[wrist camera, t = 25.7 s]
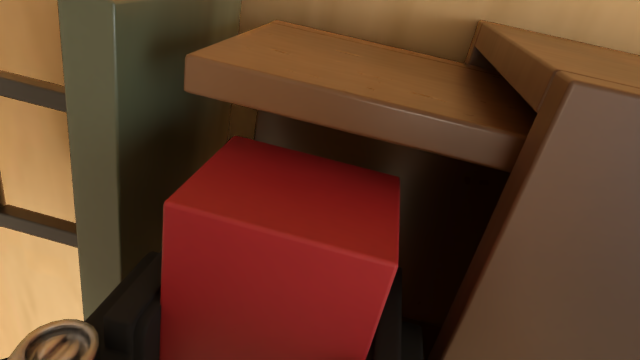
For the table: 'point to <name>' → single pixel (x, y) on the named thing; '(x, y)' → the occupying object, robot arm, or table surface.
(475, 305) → the cabinet
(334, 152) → the drawer
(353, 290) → the red slab
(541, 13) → the table surface
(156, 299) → the robot arm
